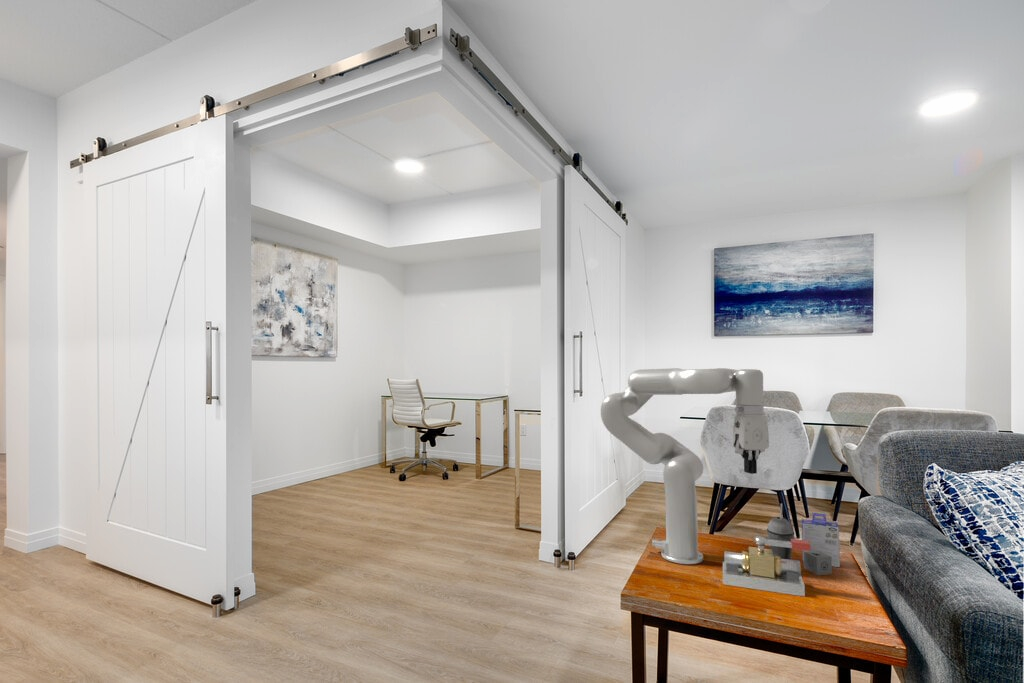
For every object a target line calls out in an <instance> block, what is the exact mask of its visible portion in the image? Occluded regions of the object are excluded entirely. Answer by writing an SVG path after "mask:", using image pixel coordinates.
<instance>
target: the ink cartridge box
mask: <svg viewBox="0 0 1024 683" xmlns="http://www.w3.org/2000/svg"><path fill="white" fill-rule="evenodd" d="M826 515H827V514H825V513H818V512H812V519H805V518H802V519H801V540H807V541H809V542H810V544H811V551H820V552H823V553H825V554H827V555H829V556H831V557H832V567H836V568H840V566H841V562H840V561H841V560H840V557H841V555H840V552H841V551H840V526H839V525H838V523H837V522H834V521H827V516H826ZM819 516H820V517H822V518H819ZM804 552H806V550H802V561H803V563H804Z"/></svg>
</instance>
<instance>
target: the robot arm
mask: <svg viewBox="0 0 1024 683" xmlns="http://www.w3.org/2000/svg"><path fill="white" fill-rule="evenodd" d="M732 392H735V407H734V411H735V415H734V419H733V427H732V444H733V448H734V453H736V454H739V455H741V458H742V459H743V471H744V473H747V474H751V475H753V474H757V472H758V471H757V470H758V468H757V465H758V462H757V461H758V460H759V455H761V453H764V452H765V451H766V449H768V448H769V447H770V438H769V427H768V421H767V420H768V419H767V417H766V415H764V412H765V410H764V409H765V408H764V373H763V372H762V371H761V369H756V368H755V369H754V368H753V369H752V368H751V369H749V368H748V369H747V368H746V369H742V368H741V369H732V368H726V367H725V368H721V367H719V368H703V369H702V368H699V369H698V368H697V369H682V368H675V367H673V368H671V367H670V368H651V369H647V368H646V369H644V368H643V369H637V370H634V371H633V372H631V373H630V374H629V376H628V379H627V388H625V390H623V392H615V393H612V394H609V395H607V396H605V398H604V399H602V400H603V401H602V402H601V406H600V418H601V421H602V424H603V426H604V427H605V428H606V430H607V431H608V432H609V433H610V434H611V435H613V437H615V439H617V440H619V441H620V442H621V443H623V444H624V445H625V446H627V447H628V448H629V449H630V450H631V451H632V452H634V453H635V454H636V455H637V456H638V457H640V458H641V459H642V460H643V461H645V462H646V463H647V464H650V465H659V464H661V463H662V464H663V465H664V467H663V473H662V474H663V475H662V476H663V477H662V478H663V484H664V495H665V537H666V538H665V539H664V540H657V539H652V541H651V546H652V547H654V548H655V549H660V550H661V551H660V552H661V557H662V558H664V559H665V560H667V561H669V562H672V563H676V564H679V565H680V564H681V565H696V564H700V563H702V562H704V561H703V560H704V555H703V553H702V552H700V551H699V543H698V542H699V539H698V538H699V537H698V536H699V535H698V533H699V532H698V497H697V489H696V481H697V480H698V479H700V478H701V477H702V476H703V473H704V465H703V464H704V463H703V461H702V460H701V458H700V457H699V456H698V455H697V454H696V453H694V452H693V451H691V449H690V448H687V447H686V446H685V445H683V444H682V443H680V442H679V441H678V440H677V439H676V438H674V437H672V436H671V435H670V434H667V433H664V432H656V433H652V432H651V431H650V430H648V429H647V428H645V427H644V426H643V425H641V424H640V423H639V422H637V421H636V420H634V419H631V417H630V416H632V415H634V414H636V413H637V412H638V411H639V410H640V409H642V407H644V405H645V404H646V403H648V401H649V400H651V399H652V397H653V396H655V395H656V396H657V395H660V396H662V395H663V396H664V395H666V396H667V395H668V396H670V395H671V396H672V395H673V396H674V395H676V396H677V395H679V396H680V395H687V394H688V395H720V394H724V393H732Z"/></svg>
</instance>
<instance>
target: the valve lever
mask: <svg viewBox="0 0 1024 683" xmlns="http://www.w3.org/2000/svg"><path fill="white" fill-rule="evenodd" d="M754 543H755V544H756V545H757V546H758V545H764V546H769V547H770V546H778V547H787V548H792V550H799V551H803V550H806V551H811V544H810V542H809V541H807V540H802V539H799V538H798V539H795V538H793V539H791V542H789V541H780V540H771V539H769V538H767V537H764V536H759V535H756V536H754Z"/></svg>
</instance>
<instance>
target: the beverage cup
mask: <svg viewBox="0 0 1024 683" xmlns="http://www.w3.org/2000/svg"><path fill="white" fill-rule="evenodd" d="M779 513H780V516H776V517H772V518H771V519H770V520H769V522H768V523H767V529H766V531H767V537H768V539H771V540H780V541H789V542H791V539H794V535H795V529H794V527H793V525H792V523H791V522H790V521H789V520H788V519H786V518H785V517H783V503H780V512H779ZM769 549H772V551H773V555H776V556H780V558H781V559H789V560H792V552H793V551H792V550H793V549H792V548H787V547H778V546H770V545H769Z"/></svg>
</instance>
